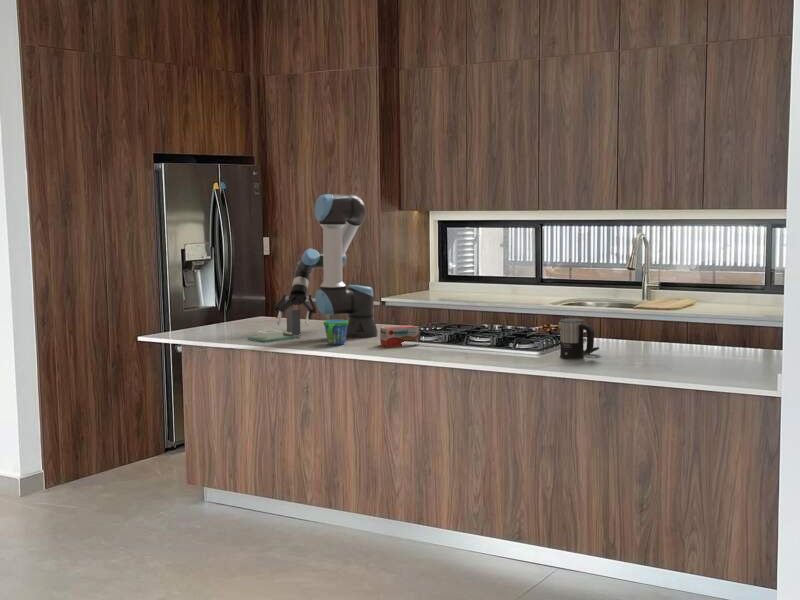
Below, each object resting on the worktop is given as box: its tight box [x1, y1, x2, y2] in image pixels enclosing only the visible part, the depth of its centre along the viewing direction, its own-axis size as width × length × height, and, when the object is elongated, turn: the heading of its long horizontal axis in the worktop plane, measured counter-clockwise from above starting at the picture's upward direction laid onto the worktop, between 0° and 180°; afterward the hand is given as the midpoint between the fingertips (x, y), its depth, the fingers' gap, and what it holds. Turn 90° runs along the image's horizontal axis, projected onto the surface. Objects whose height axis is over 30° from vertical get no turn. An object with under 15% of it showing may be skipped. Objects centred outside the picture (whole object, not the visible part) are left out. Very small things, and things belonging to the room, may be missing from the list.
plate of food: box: [535, 322, 587, 334], centre depth 443 cm, size 28×28×6 cm
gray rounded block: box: [285, 308, 301, 336], centre depth 446 cm, size 5×4×12 cm
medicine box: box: [379, 324, 420, 348], centre depth 411 cm, size 15×8×8 cm, turn 113°
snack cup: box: [323, 319, 348, 346], centre depth 416 cm, size 16×10×10 cm
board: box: [247, 329, 300, 343], centre depth 434 cm, size 14×18×4 cm
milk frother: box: [559, 318, 600, 360], centre depth 376 cm, size 14×16×15 cm
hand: (292, 323), depth 445 cm, fingers open, 13 cm apart
